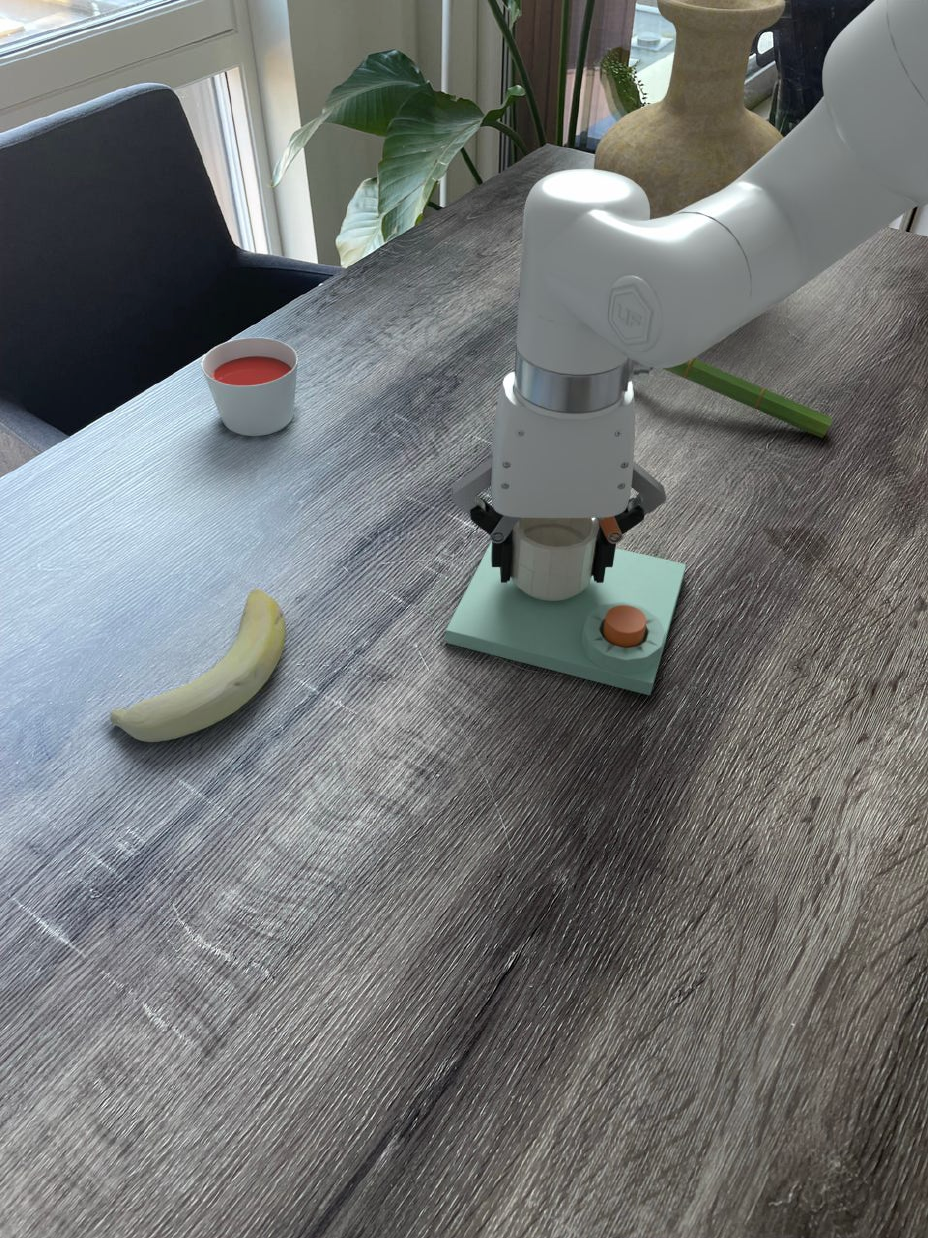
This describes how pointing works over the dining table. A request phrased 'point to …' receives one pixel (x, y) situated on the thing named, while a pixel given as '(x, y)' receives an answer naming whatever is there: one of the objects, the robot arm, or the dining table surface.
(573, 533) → the white cup
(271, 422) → the candle
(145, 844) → the dining table surface
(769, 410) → the decorative plant
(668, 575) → the scale
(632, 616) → the power button
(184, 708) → the fruit
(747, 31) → the vase
